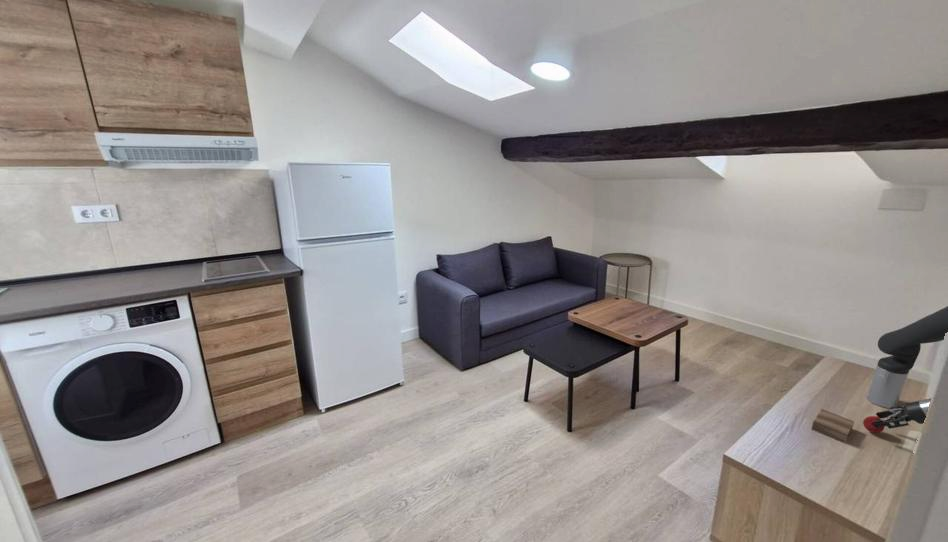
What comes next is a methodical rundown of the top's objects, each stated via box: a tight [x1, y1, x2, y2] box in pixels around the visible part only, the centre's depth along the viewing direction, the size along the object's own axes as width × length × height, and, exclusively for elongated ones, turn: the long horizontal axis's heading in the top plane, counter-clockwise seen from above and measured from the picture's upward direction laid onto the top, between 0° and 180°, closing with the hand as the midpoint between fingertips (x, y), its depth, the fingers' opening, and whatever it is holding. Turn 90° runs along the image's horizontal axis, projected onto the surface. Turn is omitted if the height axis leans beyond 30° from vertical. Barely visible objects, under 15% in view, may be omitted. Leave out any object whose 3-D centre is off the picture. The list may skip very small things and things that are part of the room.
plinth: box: [811, 409, 855, 444], centre depth 152 cm, size 12×10×4 cm
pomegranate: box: [862, 414, 885, 434], centre depth 149 cm, size 6×6×8 cm
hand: (875, 420), depth 148 cm, fingers open, 8 cm apart
